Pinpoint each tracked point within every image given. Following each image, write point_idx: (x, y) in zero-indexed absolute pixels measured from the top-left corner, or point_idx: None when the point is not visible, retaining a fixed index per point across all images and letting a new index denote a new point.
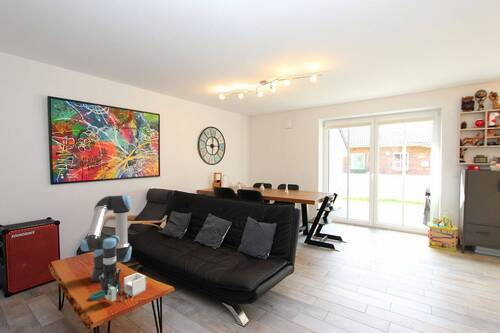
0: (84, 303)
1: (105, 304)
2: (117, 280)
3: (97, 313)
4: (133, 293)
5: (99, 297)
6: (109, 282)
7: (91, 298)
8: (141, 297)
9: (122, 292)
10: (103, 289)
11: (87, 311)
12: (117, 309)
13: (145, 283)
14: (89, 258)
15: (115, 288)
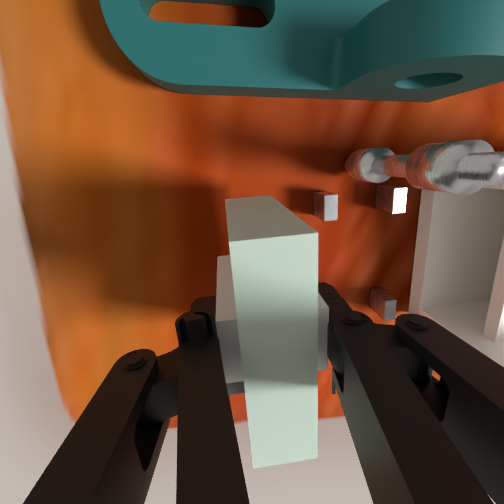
0: (35, 44)
1: (205, 260)
2: (459, 449)
3: (109, 347)
4: None
5: (199, 90)
6: None
7: (111, 30)
8: None
9: (398, 210)
10: (135, 434)
11: (41, 255)
12: (241, 395)
13: None
14: None
15: (310, 449)
